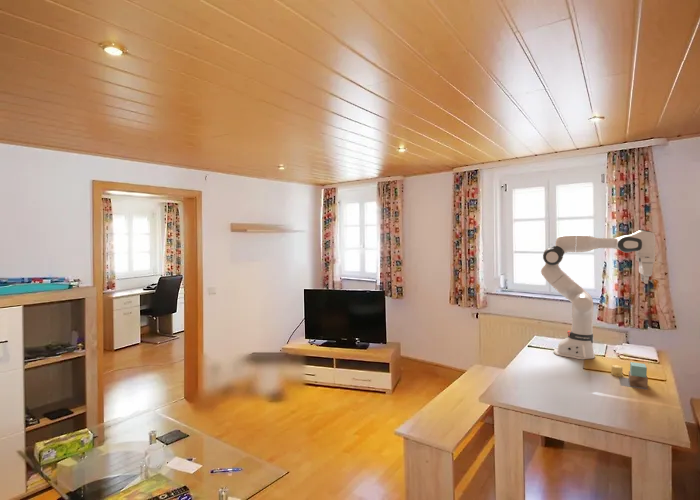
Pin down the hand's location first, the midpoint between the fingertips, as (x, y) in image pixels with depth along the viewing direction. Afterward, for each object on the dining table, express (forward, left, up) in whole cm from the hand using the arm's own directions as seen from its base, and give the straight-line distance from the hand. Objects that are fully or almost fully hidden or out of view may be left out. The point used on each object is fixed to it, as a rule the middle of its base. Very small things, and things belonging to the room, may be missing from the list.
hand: (644, 282), depth 228 cm
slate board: (-8, -41, -47) cm, 63 cm away
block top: (-6, -42, -42) cm, 59 cm away
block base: (-6, -42, -46) cm, 63 cm away
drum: (-14, -31, -47) cm, 58 cm away
